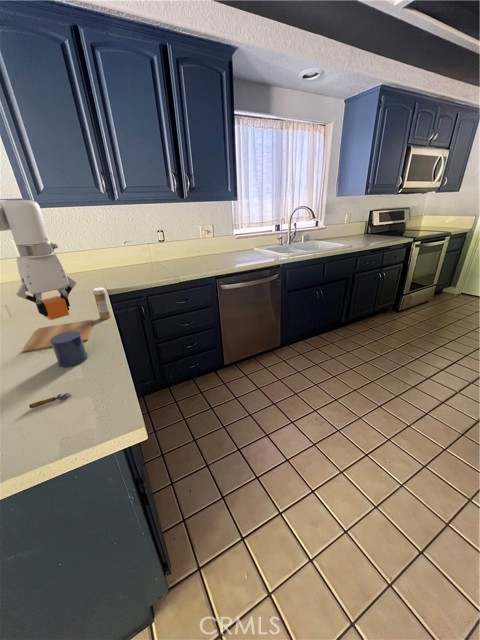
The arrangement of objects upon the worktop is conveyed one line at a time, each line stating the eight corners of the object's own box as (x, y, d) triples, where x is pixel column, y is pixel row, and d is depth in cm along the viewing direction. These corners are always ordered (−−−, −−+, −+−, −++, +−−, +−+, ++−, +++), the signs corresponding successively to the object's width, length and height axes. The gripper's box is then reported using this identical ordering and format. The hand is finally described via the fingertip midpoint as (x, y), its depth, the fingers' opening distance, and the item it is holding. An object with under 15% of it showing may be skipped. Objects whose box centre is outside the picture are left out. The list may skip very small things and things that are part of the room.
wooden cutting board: (23, 352, 91) (22, 351, 91) (38, 329, 108) (38, 328, 108) (88, 340, 98) (87, 339, 97) (93, 320, 115) (92, 319, 114)
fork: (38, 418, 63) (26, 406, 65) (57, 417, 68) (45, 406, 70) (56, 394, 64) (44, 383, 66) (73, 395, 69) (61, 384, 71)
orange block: (50, 320, 76) (45, 304, 74) (44, 316, 79) (39, 300, 77) (69, 314, 80) (64, 299, 78) (62, 311, 82) (58, 295, 80)
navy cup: (55, 370, 81) (46, 345, 77) (60, 356, 88) (52, 333, 84) (86, 363, 84) (78, 340, 80) (89, 351, 91) (82, 329, 87)
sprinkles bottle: (100, 316, 119) (93, 287, 113) (111, 315, 120) (104, 286, 114) (99, 320, 115) (91, 290, 109) (110, 318, 116) (103, 289, 110)
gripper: (64, 245, 80) (80, 301, 87) (-9, 253, 67) (17, 318, 75) (75, 247, 75) (90, 306, 83) (-1, 256, 63) (26, 325, 71)
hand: (55, 311), depth 79 cm, fingers closed on orange block, 5 cm apart
